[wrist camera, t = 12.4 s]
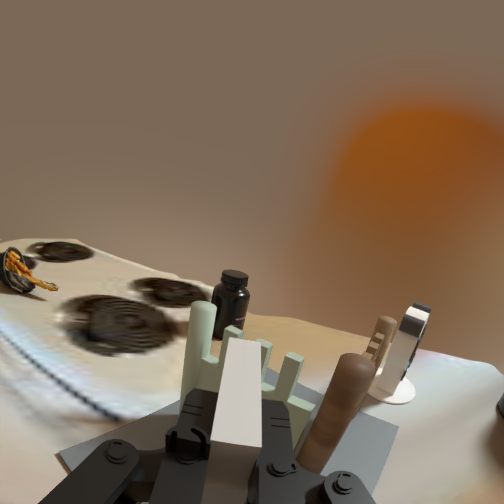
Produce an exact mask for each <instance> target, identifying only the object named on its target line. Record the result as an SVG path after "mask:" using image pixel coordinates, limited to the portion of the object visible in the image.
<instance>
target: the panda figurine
mask: <svg viewBox="0 0 504 504" xmlns="http://www.w3.org/2000/svg"><path fill="white" fill-rule="evenodd" d="M430 311H431V307H428V306H426V305H423V304H420V303H417V302H414V304H413V307H409V309H408V310H407V312H406V314H405V315H404V317H403V319H402V322H401V324H400V326H399V329H398V331H397V333H396V335H395V338H394V340H393V342H392V345H391V347H390V350H389V352H388V355H387V358H386V363H385V366H384V368H378V371H377V373H376V375H375V377H374V380H373V382H372V384H371V386H370V388H369V390H368V392H367V393H368V394H369V395H370V396H372V397H373V398H375V399H377V400H379V401H382V402H385V403H388V404H395V405H401V404H406V403H409V402H411V401H412V400H413V398H414V397H415V393H416V392H415V388H414V386H413V385H412V383H411V382H410V381H409V380H408V379H406V378H405V377H404V376H405V374H406V372H407V368H409V367H410V365H411V363H412V361H413V358H414V356H415V354H416V353H415V352H416V350H417V347H418V345H419V343H420V342H421V339H422V337H423V335H424V332H425V330H426V327H427V324H426V322H427V319H428V317H429V313H430Z"/></svg>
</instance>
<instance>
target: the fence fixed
mask: <svg viewBox="0 0 504 504" xmlns="http://www.w3.org/2000/svg"><path fill="white" fill-rule="evenodd" d="M396 323H397V322H396V321H395V320H394V319H392V318H390V317H387V316H379V318H378V321H377V324H376V326H375V329H374V332H373V335H372V337H371V340H370V343H369V345H368V347H367V350H366V352H365V351H364V352H363V354H362V355H359V354H354V353H346V354H343V355H341V356H340V359H339V361H338V364H337V367H336V369H335V372H334V374H333V377H332V379H331V382H330V384H329V387H328V389H327V392H326V394H325V396H324V399H323V401H322V403H321V406H320V408H319V410H318V413H317V415H316V417H315V419H314V422H313V424H312V426H311V428H310V430H309V432H308V435H307V437H306V439H305V441H304V443H303V445H302V447H301V449H300V451H299V453H298V455H297V457H296V459H295V460H296V461H297V462H298V463H299V465H300V466H301V467H302V468H303V469H305V470H307V471H309V472H312V473H315V474H319V475H320V473H321V472H322V470H323V469H324V467H325V465H326V464H327V462H328V460H329V459H330V457H331V455H332V454H333V452H334V450H335V449H336V447H337V445H338V443H339V442H340V440H341V438H342V436H343V435H344V433H345V431H346V429H347V427H348V425H349V423H350V422H351V420H352V419H354V418H355V416H356V415H357V413H358V411H359V409H360V407H361V405H362V403H363V401H364V399H365V397H366V395H367V392H368V390H369V388H370V386H371V384H372V382H373V380H374V377H375V375H376V373H377V371H378V368H379V366H380V364H381V361H382V359H383V357H384V354H385V352H386V349H387V347H388V344H389V342H390V339H391V337H392V334H393V331H394V329H395V326H396Z"/></svg>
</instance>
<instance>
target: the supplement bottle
mask: <svg viewBox="0 0 504 504" xmlns="http://www.w3.org/2000/svg"><path fill="white" fill-rule="evenodd" d="M220 281H221V283H220V284H218V285H216V286H215V288H214V290H213V295H212V301H211V303H212V304H214V305H215V306H216V307H217V310H216V316H215V322H214V328H213V334H212V335H213V336H215V337H217V338H220V339H223V334H224V329H225V328H226V327H228V326H230V325H231V326H233V327H236V328H238V329H240V330H243V326H244V322H245V317H246V313H247V308H248V304H249V299H250V294H249V291H248V290H247V289H246V288H245V287H247V284H248V283H247V281H248V275H247V274H245V273H243V272H240V271H236V270H224V271H223V272H222V277H221V279H220Z"/></svg>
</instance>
